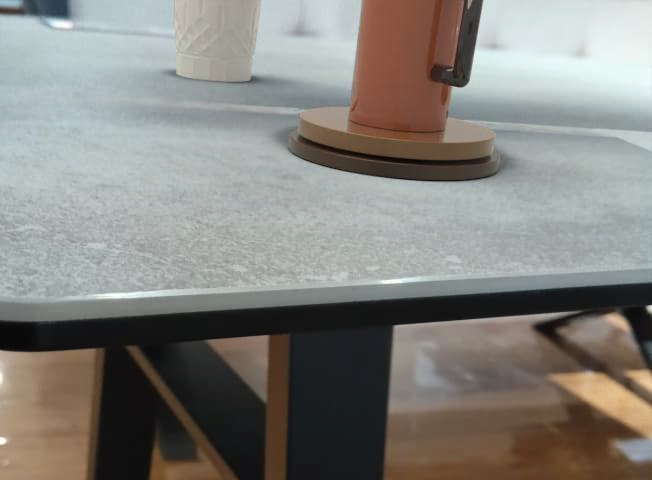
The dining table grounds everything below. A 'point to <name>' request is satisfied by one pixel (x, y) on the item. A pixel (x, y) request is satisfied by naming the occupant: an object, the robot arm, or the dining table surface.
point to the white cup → (216, 38)
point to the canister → (407, 84)
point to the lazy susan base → (392, 162)
